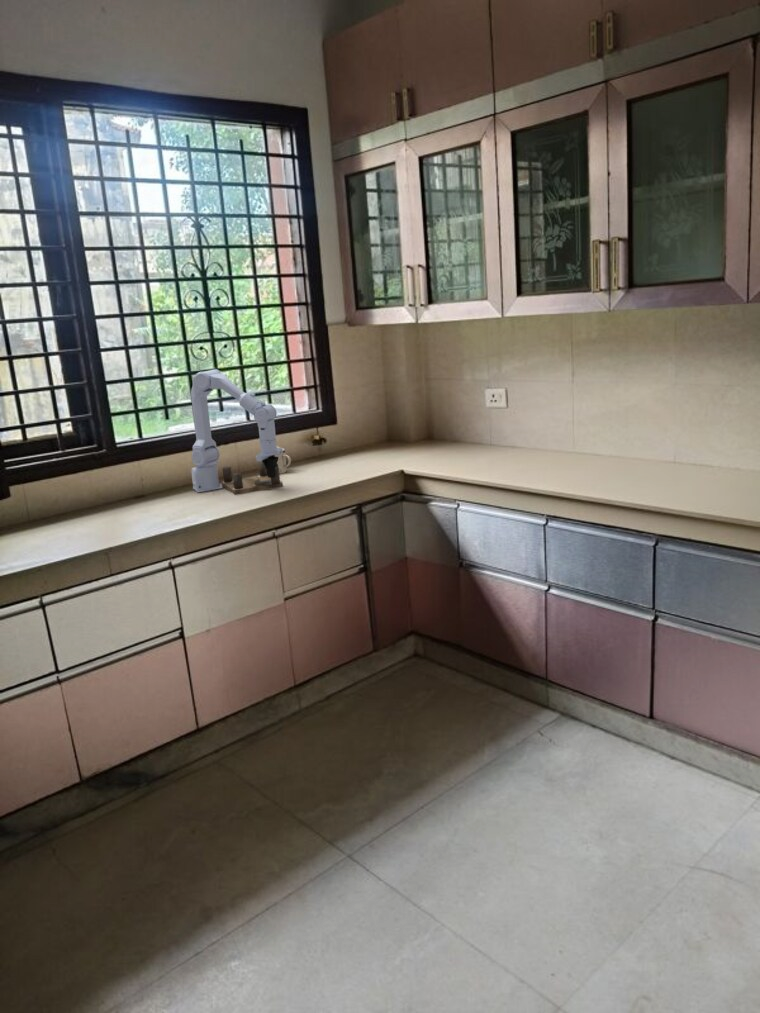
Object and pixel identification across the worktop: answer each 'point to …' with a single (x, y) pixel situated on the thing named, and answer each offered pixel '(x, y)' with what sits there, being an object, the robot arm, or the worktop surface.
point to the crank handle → (273, 480)
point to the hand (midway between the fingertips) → (271, 477)
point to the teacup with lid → (282, 461)
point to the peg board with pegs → (246, 481)
